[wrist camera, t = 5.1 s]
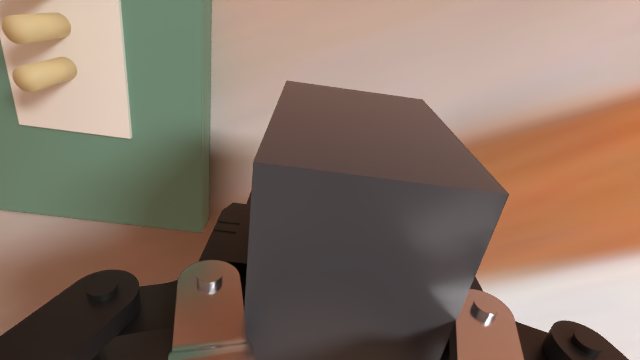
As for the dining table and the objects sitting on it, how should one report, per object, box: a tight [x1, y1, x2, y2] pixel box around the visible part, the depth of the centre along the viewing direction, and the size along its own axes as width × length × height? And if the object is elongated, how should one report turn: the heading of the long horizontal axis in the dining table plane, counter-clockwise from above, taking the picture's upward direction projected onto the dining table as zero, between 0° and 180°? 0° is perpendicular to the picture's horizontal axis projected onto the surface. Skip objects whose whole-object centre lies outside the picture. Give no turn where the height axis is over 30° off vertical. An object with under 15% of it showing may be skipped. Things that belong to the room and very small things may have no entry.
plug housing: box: [244, 81, 509, 360], centre depth 11 cm, size 8×4×6 cm, turn 172°
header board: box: [0, 0, 212, 233], centre depth 16 cm, size 20×12×4 cm, turn 172°
